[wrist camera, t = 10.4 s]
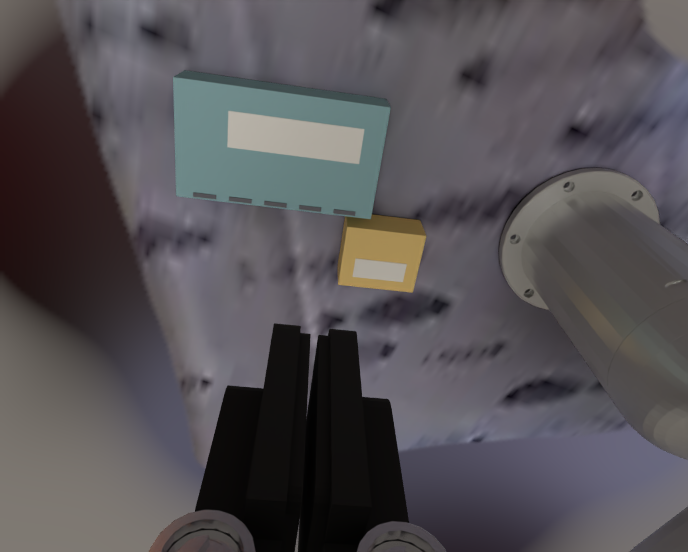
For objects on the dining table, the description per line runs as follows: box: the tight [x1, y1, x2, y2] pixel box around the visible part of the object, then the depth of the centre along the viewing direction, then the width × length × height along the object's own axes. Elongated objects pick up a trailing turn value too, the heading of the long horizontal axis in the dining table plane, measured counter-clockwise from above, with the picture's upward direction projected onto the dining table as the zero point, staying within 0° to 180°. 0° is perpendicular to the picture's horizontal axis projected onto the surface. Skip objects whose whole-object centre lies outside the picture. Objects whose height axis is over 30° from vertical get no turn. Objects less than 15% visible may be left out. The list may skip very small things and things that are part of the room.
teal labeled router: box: [173, 71, 391, 219], centre depth 36 cm, size 14×8×3 cm, turn 82°
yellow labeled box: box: [338, 214, 426, 293], centre depth 40 cm, size 6×5×3 cm
